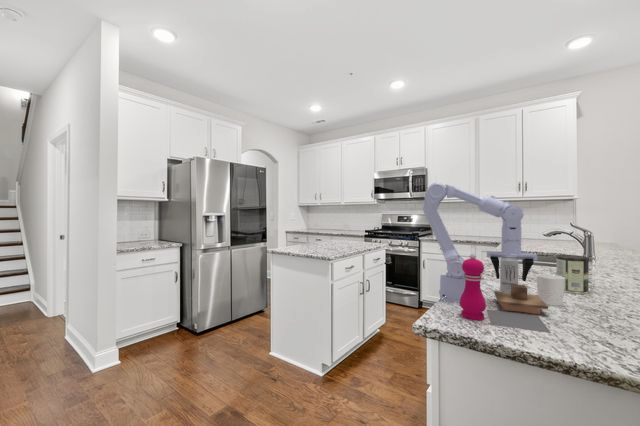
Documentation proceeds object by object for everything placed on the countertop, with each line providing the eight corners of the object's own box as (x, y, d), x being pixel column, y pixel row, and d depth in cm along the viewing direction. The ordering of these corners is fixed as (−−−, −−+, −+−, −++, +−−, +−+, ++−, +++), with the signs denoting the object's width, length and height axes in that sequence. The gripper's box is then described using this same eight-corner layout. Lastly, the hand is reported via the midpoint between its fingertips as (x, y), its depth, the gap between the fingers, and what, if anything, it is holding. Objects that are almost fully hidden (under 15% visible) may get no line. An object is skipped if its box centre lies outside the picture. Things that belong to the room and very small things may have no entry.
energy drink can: (501, 294, 117) (501, 256, 117) (498, 290, 122) (499, 254, 122) (519, 296, 114) (520, 257, 114) (516, 292, 120) (516, 255, 120)
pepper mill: (475, 324, 87) (476, 256, 87) (454, 316, 93) (454, 253, 93) (491, 320, 90) (491, 254, 90) (469, 312, 97) (469, 251, 96)
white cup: (569, 308, 100) (570, 279, 100) (543, 307, 102) (543, 278, 102) (556, 301, 108) (556, 274, 108) (532, 300, 109) (532, 273, 109)
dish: (503, 311, 98) (503, 302, 98) (499, 302, 107) (499, 294, 107) (540, 315, 94) (540, 306, 94) (532, 306, 103) (533, 297, 103)
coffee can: (573, 287, 127) (574, 254, 127) (595, 294, 117) (596, 258, 117) (549, 287, 127) (549, 254, 127) (569, 294, 117) (569, 258, 117)
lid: (498, 303, 97) (498, 288, 96) (494, 293, 108) (494, 279, 108) (548, 309, 91) (548, 293, 91) (537, 297, 103) (537, 283, 103)
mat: (490, 326, 85) (490, 324, 85) (486, 311, 98) (486, 309, 98) (551, 335, 80) (551, 332, 80) (538, 317, 92) (538, 315, 92)
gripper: (488, 240, 102) (487, 279, 102) (539, 242, 96) (539, 284, 96) (486, 238, 108) (485, 275, 109) (534, 240, 102) (534, 279, 102)
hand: (510, 279), depth 103 cm, fingers open, 7 cm apart
